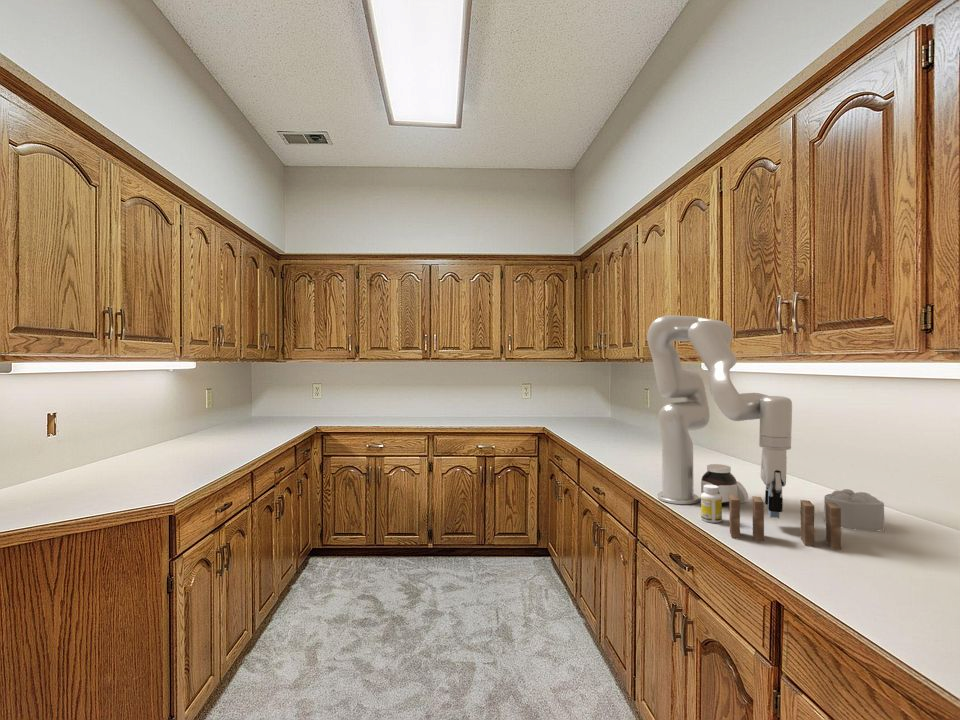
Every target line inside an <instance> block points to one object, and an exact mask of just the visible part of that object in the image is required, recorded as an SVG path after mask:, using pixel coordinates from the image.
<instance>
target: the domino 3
mask: <svg viewBox="0 0 960 720" xmlns="http://www.w3.org/2000/svg"><path fill="white" fill-rule="evenodd" d="M815 537H816V536H815V505H814V504H813V503H812V502H811V501H810V500H806V499H800V540H801V542H802V544H804V546H806V547H813V548H814V547H815V546H816V545H815V539H816V538H815Z"/></svg>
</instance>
